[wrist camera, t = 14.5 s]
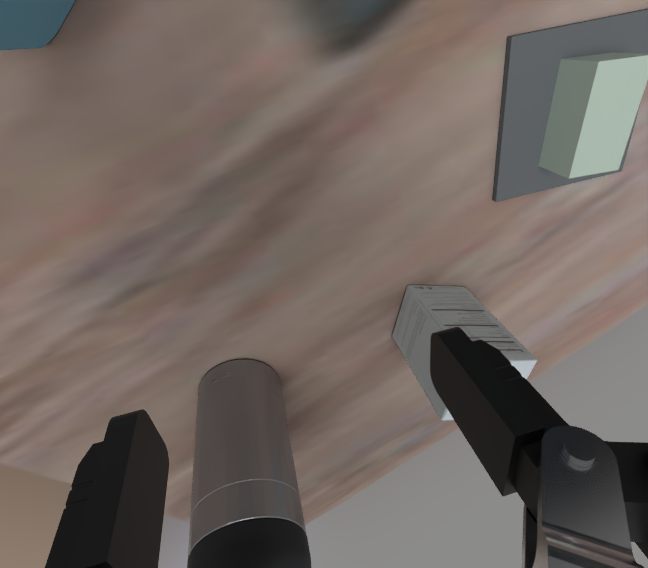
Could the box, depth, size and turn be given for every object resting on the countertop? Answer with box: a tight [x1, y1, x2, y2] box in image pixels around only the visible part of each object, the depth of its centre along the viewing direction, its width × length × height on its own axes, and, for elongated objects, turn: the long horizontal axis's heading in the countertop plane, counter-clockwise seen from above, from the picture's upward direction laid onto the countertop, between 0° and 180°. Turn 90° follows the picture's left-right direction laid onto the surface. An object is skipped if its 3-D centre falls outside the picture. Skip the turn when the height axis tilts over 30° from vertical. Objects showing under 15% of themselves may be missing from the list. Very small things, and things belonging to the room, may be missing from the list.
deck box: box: [539, 52, 648, 178], centre depth 34 cm, size 5×9×4 cm, turn 5°
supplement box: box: [392, 285, 537, 420], centre depth 40 cm, size 7×7×13 cm
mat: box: [492, 9, 648, 202], centre depth 36 cm, size 14×14×1 cm
